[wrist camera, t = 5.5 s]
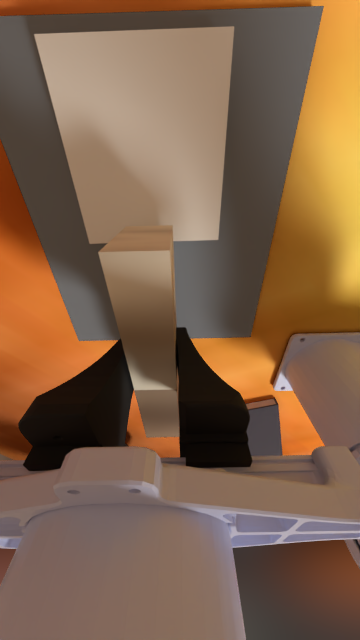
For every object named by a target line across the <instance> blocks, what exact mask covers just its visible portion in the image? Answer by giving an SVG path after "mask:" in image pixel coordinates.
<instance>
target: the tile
mask: <svg viewBox="0 0 360 640" xmlns="http://www.w3.org/2000/svg"><path fill="white" fill-rule="evenodd" d="M34 36H35V40H36V44H37V47H38V51H39V55H40V59H41V62H42V66H43V70H44V74H45V77H46V81H47V85H48V89H49V93H50V96H51V100H52V104H53V108H54V111H55V115H56V119H57V123H58V126H59V130H60V134H61V138H62V142H63V145H64V149H65V153H66V157H67V160H68V164H69V168H70V172H71V175H72V179H73V183H74V187H75V191H76V194H77V198H78V202H79V206H80V209H81V213H82V217H83V221H84V224H85V228H86V232H87V236H88V240H89V243H90V244H99V243H109V242H110V241H111V240H112V239H113V238H114V237H115V236H116V235H117V234H118V233H119V232H120V231H122V230H123V229H124V228H125V227H126V226H164V225H173V241H200V240H218V236H219V223H220V210H221V197H222V183H223V170H224V157H225V143H226V130H227V117H228V104H229V90H230V77H231V64H232V50H233V37H234V26H230V27H204V28H178V29H152V30H126V31H101V32H75V33H49V34H34Z"/></svg>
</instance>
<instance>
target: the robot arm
mask: <svg viewBox="0 0 360 640" xmlns="http://www.w3.org/2000/svg"><path fill="white" fill-rule="evenodd" d="M300 339H301V340H300ZM176 350H177V369H178V379H179V390H178V405H179V437H180V458H160V457H159V456H158V455H157V453H156V452H155V451H153V450H151V449H148V448H145V447H124V446H125V438H126V431H127V424H128V417H129V410H130V404H131V398H132V394H133V390H134V387H133V383H132V379H131V376H130V372H129V368H128V364H127V360H126V357H125V353H124V349H123V345H122V341H121V338H120V339H119V340H118V342H117V343H116V344H115V345H114V346H113V347H112V348H111V349H110V350H109V351H108V352H107V353H105V354H104V355H103V356H102V357H101V358H100V359H99V360H98V361H96V362H95V363H94V364H92V365H91V366H90V367H88V368H87V369H85V370H84V371H83V372H81V373H80V374H78V375H77V376H75V377H73V378H72V379H70V380H68V381H67V382H65V383H63V384H61V385H60V386H58V387H56V388H54V389H52V390H50V391H48V392H46V393H44V394H42V395H39V396H37V397H36V398H35V400H34V401H33V403H32V404H31V405H30V407H29V408H28V410H27V411H26V413H25V414H24V416H23V417H22V419H21V420H20V422H19V424H18V425H19V430H20V431H21V433H22V434H23V435H24V437H25V438H26V439H27V440H28V441H29V442H30V443H31V444H32V446H33V448H32V449H31V451H30V453H29V455H28V456H27V458H26V460H14V461H0V548H10V549H11V548H12V549H17V550H16V552H15V554H14V557H13V559H12V561H11V563H10V565H9V568H8V570H7V572H6V574H5V577H4V579H3V581H2V583H1V585H0V640H246V636H245V629H244V623H243V617H242V610H241V603H240V598H239V590H238V583H237V577H236V570H235V563H234V557H233V551H232V548H235V547H247V546H258V545H270V544H281V543H293V542H305V541H320V540H339V539H340V540H341V539H344V540H345V542H346V545H347V547H348V549H349V551H350V553H351V555H352V556H353V558H354V560H355V562H356V563H357V565H358V567H359V568H360V332H355V333H309V334H294V335H292V336H291V338H290V340H289V343H288V346H287V348H286V351H285V354H284V357H283V359H282V362H281V365H280V368H279V370H278V373H277V376H276V379H275V381H274V384H273V388H274V390H276V391H292V390H293V391H294V393H295V395H296V396H297V398H298V400H299V402H300V403H301V405H302V407H303V408H304V410H305V412H306V414H307V415H308V417H309V419H310V421H311V422H312V424H313V426H314V428H315V429H316V431H317V433H318V434H319V436H320V438H321V440H322V441H323V443H324V445H325V446H321V447H318V448H316V449H314V450H313V452H312V454H311V455H292V456H251V453H250V450H249V446H248V441H249V440H248V436H247V432H246V431H247V428H248V425H249V422H250V415H249V411H248V408H247V406H246V404H245V402H244V400H243V398H242V396H241V395H240V393H239V392H238V391H236V390H235V389H233V388H232V387H231V386H229V385H228V384H227V383H226V382H224V381H223V380H222V379H221V378H220V377H219V376H218V375H217V374H216V373H215V372H214V371H213V370H212V369H211V368H210V367H209V366H208V365H207V364H206V362H205V361H204V360H203V359H202V357H201V356H200V354H199V353H198V351H197V350H196V348H195V347H194V345H193V343H192V341H191V339H190V337H189V335H188V332H187V329H186V328H185V327H176Z"/></svg>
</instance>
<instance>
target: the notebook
mask: <svg viewBox="0 0 360 640" xmlns="http://www.w3.org/2000/svg"><path fill="white" fill-rule="evenodd" d="M246 406H247V408H248V411H249V415H250V422H249V425H248V428H247V431H246V432H247V436H248V440H249V441H248V446H249V450H250V453H251V456H282V445H281V433H280V421H279V409H278V403H277V401H276V399H275V398H274V399H269V400H264V401H259V402H253V403H248V404H246Z"/></svg>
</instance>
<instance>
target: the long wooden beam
mask: <svg viewBox="0 0 360 640" xmlns="http://www.w3.org/2000/svg"><path fill="white" fill-rule="evenodd" d="M98 253H99V257H100V261H101V265H102V269H103V272H104V276H105V280H106V284H107V288H108V292H109V295H110V299H111V303H112V307H113V311H114V314H115V318H116V322H117V326H118V330H119V334H120V337H121V341H122V345H123V349H124V353H125V357H126V360H127V364H128V368H129V372H130V376H131V379H132V383H133V387H134V391H135V395H136V399H137V402H138V406H139V410H140V414H141V418H142V422H143V425H144V429H145V433H146V437H179V405H178V390H179V379H178V369H177V350H176V327H177V321H176V296H175V270H174V245H173V225H164V226H126V227H125V228H124V229H123V230H122V231H120V232H119V233H118V234H117V235H116V236H115V237H114V238H113V239H112V240H111V241H110V242H109V243H108V244H106V245H105V246H104V247H103V248H102V249H101V250H100V251H99V252H98Z"/></svg>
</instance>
